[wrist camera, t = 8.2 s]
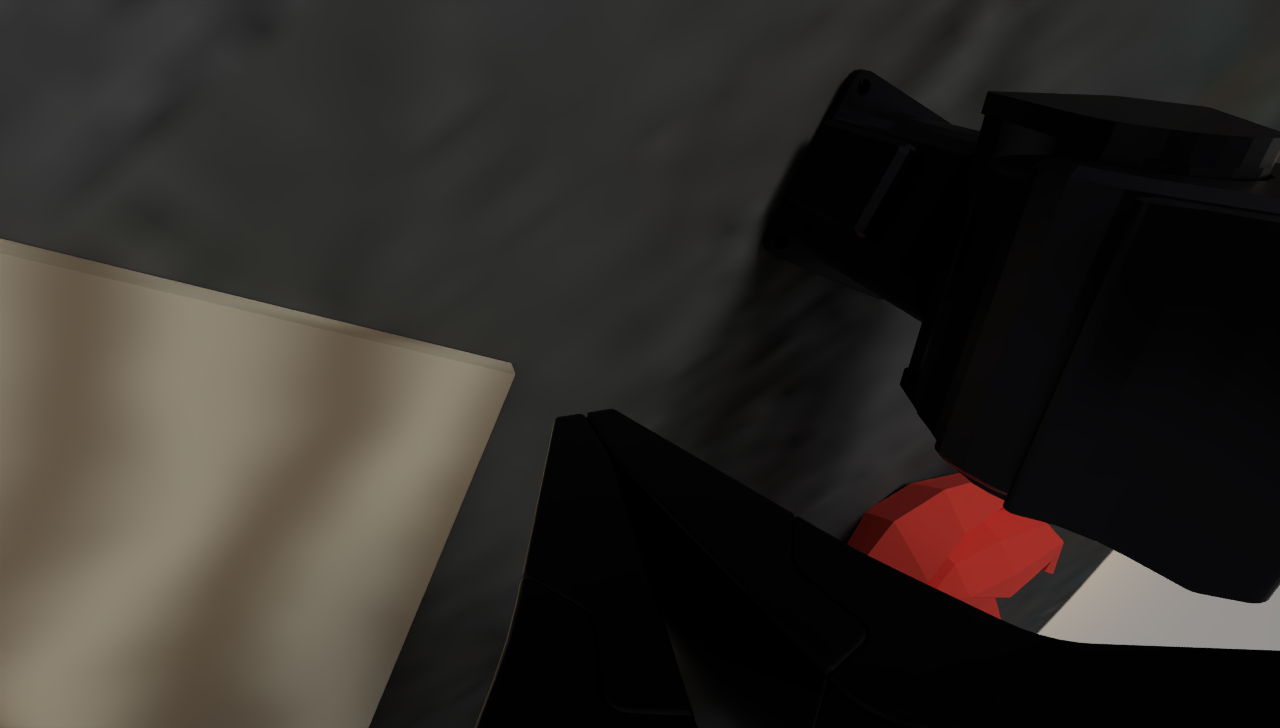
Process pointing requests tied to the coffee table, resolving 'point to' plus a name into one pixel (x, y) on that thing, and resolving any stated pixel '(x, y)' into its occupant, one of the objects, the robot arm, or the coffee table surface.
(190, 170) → the coffee table surface
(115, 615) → the board
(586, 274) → the coffee table surface
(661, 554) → the robot arm
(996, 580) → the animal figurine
